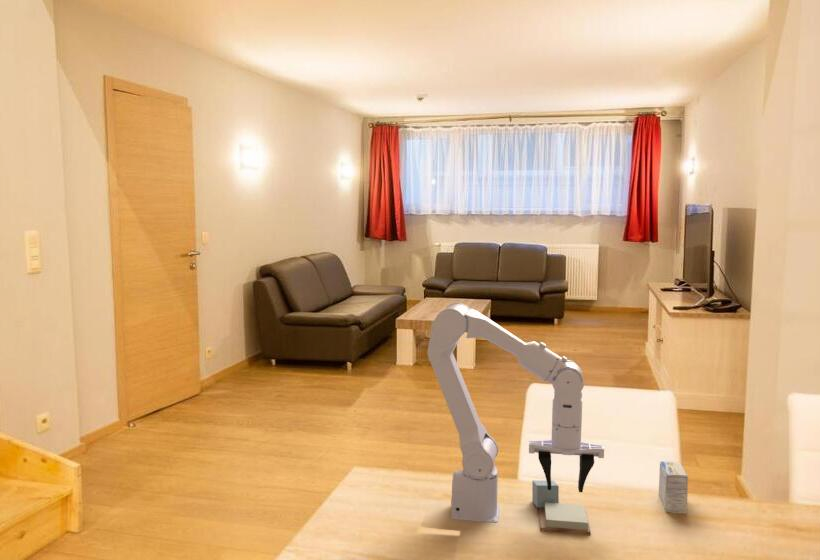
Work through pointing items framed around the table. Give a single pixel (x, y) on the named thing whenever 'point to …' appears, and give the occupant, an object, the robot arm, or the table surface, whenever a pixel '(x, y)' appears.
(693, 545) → the table surface
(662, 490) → the medicine box
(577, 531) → the tower base
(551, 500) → the cube
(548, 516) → the tower top
